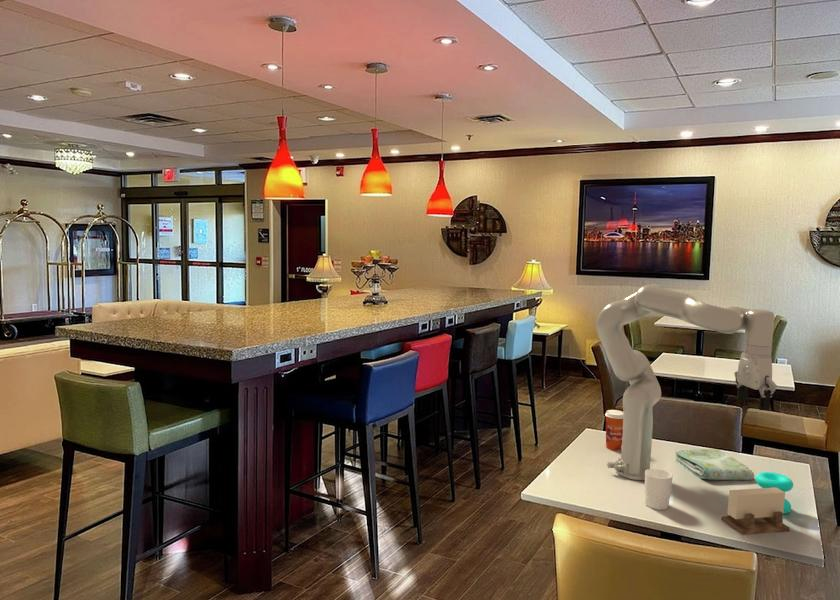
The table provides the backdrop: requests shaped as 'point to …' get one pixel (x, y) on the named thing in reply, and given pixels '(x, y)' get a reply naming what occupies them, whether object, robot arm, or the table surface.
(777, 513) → the rack
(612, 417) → the paper cup
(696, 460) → the towel
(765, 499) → the cream rectangular block
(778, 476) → the donuts
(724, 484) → the table surface
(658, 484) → the white cup
